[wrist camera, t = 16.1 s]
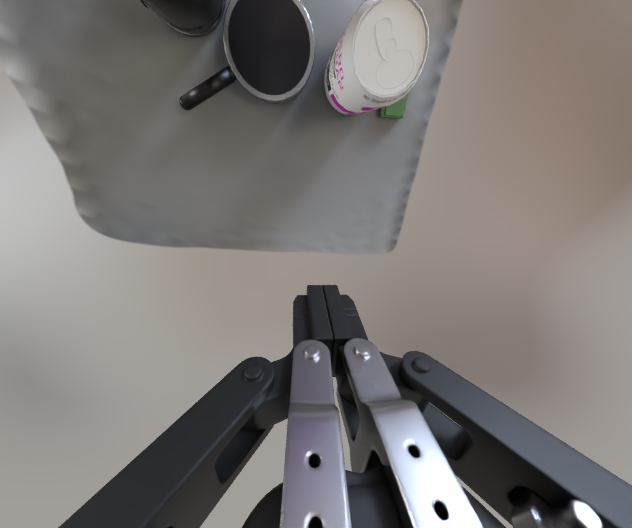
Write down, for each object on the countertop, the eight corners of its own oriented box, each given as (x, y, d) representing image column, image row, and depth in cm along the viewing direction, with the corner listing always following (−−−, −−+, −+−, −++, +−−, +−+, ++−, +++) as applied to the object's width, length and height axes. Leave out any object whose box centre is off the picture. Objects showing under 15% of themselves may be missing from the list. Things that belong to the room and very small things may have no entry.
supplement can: (386, 97, 35) (443, 76, 22) (336, 125, 36) (363, 121, 23) (368, 30, 31) (425, -44, 18) (313, 65, 32) (330, 18, 19)
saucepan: (287, -26, 28) (286, -47, 25) (325, 78, 33) (329, 73, 30) (159, 62, 30) (144, 54, 27) (213, 146, 36) (206, 147, 33)
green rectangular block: (390, 48, 32) (394, 45, 31) (413, 51, 32) (418, 48, 31) (378, 116, 36) (382, 116, 35) (400, 118, 36) (403, 118, 35)
